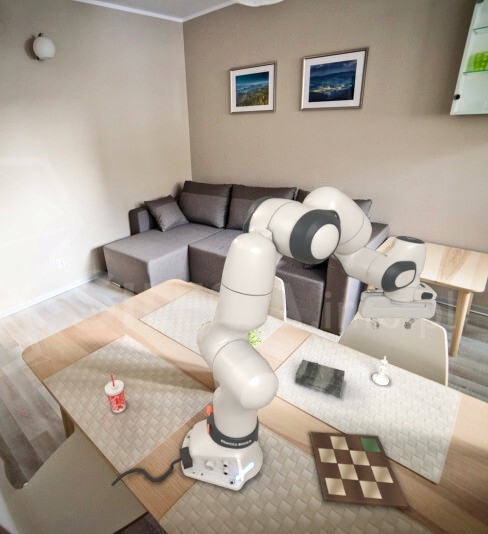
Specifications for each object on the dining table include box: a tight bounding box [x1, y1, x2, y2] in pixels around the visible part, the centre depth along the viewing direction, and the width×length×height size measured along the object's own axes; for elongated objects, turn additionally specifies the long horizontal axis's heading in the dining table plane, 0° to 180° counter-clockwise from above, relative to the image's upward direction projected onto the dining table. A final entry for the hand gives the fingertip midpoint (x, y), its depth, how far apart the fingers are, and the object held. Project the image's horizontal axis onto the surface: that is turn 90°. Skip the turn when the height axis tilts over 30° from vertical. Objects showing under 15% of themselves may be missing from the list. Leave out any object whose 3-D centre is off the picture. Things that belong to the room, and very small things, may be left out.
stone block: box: [294, 359, 346, 398], centre depth 110 cm, size 9×14×5 cm, turn 58°
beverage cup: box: [104, 374, 127, 414], centre depth 106 cm, size 6×6×14 cm
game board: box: [309, 431, 408, 510], centre depth 84 cm, size 18×18×1 cm
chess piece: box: [371, 355, 390, 386], centre depth 108 cm, size 5×5×10 cm
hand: (391, 328), depth 101 cm, fingers open, 8 cm apart
